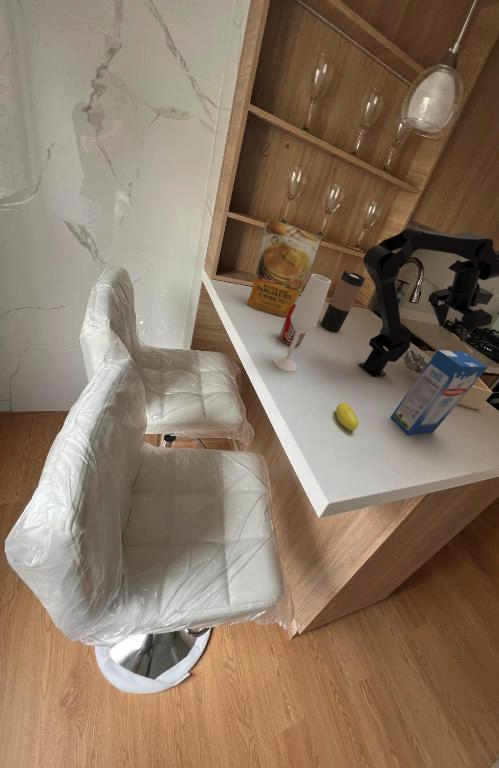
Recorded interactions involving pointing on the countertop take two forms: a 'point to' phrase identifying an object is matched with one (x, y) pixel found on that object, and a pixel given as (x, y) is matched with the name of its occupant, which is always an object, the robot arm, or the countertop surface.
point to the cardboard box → (475, 395)
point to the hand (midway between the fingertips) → (451, 332)
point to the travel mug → (342, 301)
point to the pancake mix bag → (282, 267)
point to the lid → (458, 345)
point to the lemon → (347, 416)
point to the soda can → (290, 329)
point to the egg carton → (415, 360)
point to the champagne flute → (305, 315)
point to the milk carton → (437, 391)
